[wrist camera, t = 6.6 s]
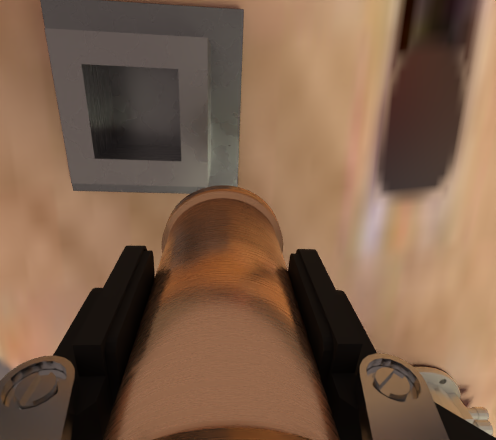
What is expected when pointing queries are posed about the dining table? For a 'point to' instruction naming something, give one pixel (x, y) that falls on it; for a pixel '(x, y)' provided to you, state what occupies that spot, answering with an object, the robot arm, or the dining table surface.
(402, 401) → the robot arm
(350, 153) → the dining table surface
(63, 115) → the flange socket
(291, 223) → the dining table surface
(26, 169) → the dining table surface
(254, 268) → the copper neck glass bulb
